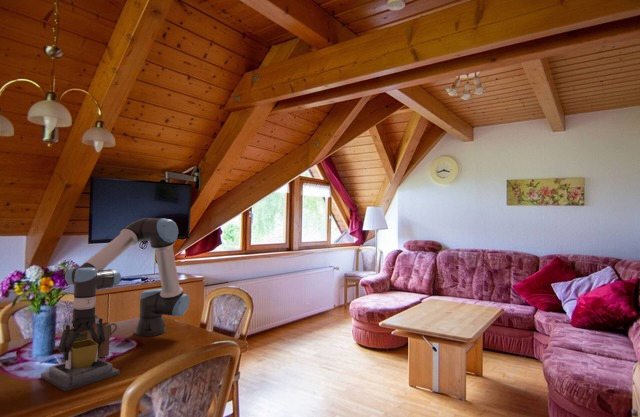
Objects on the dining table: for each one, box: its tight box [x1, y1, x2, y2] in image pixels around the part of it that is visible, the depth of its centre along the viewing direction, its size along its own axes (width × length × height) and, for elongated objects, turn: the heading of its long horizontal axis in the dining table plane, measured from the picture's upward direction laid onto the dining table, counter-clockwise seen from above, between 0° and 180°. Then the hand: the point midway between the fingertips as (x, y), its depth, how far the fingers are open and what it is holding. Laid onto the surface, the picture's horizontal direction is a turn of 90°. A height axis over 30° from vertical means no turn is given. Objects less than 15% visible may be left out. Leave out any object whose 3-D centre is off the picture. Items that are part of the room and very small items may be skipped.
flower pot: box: [70, 339, 98, 369], centre depth 154 cm, size 9×9×9 cm
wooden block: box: [87, 313, 111, 359], centre depth 176 cm, size 4×11×18 cm, turn 72°
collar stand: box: [40, 357, 121, 393], centre depth 153 cm, size 20×20×4 cm
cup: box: [67, 321, 118, 342], centre depth 189 cm, size 13×20×10 cm, turn 85°
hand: (81, 364), depth 154 cm, fingers open, 9 cm apart
